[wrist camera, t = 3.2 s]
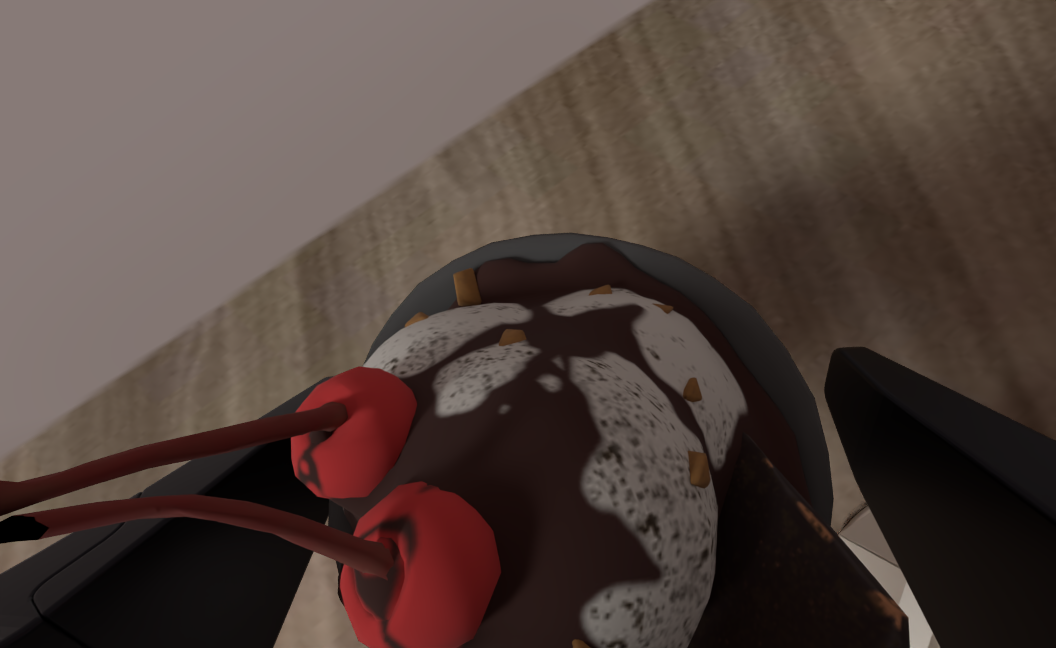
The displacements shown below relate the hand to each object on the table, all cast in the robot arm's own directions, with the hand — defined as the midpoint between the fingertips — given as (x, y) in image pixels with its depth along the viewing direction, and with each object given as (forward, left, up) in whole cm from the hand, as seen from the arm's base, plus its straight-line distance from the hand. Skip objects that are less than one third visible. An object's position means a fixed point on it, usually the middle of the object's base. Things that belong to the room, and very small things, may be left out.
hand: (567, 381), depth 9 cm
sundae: (-1, +1, -8) cm, 8 cm away
